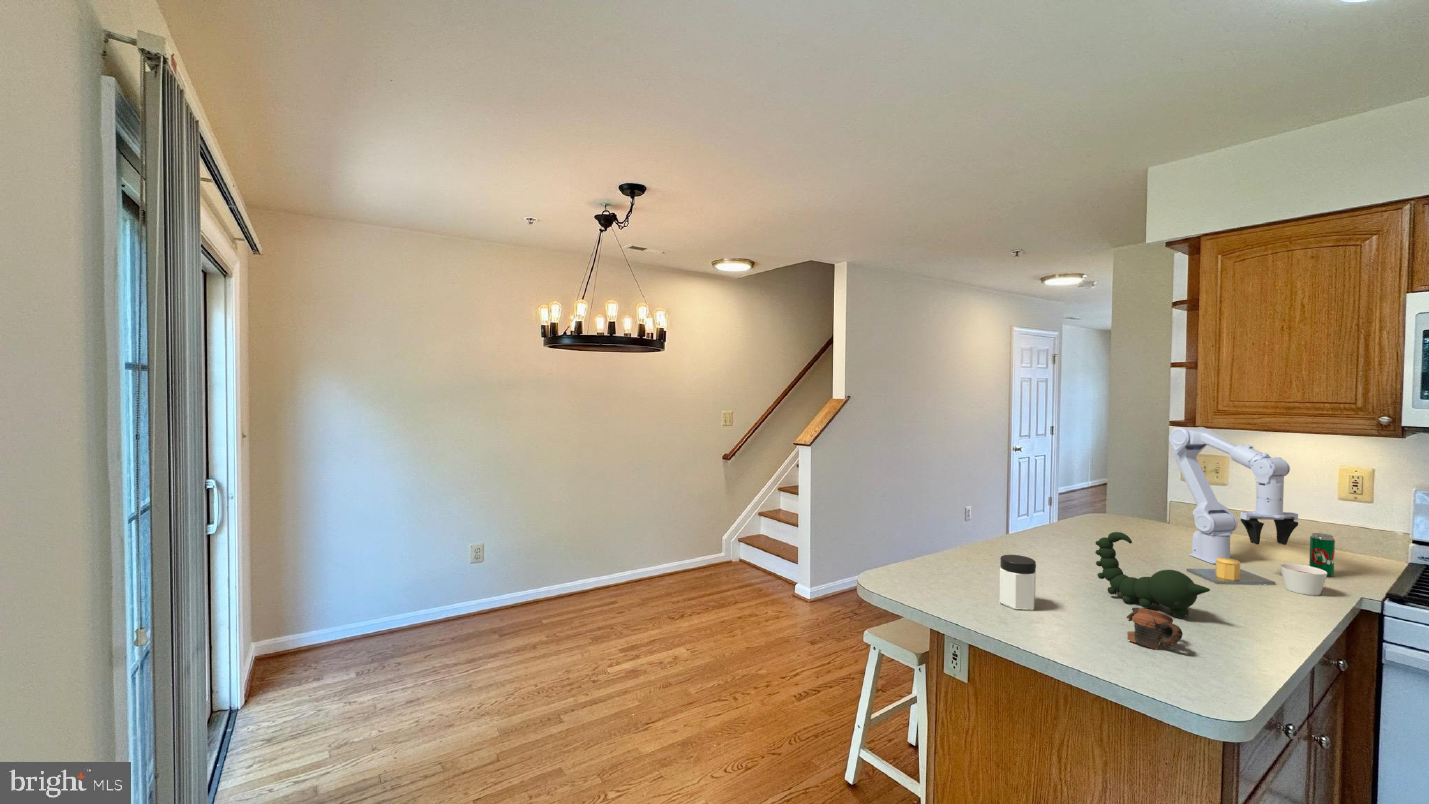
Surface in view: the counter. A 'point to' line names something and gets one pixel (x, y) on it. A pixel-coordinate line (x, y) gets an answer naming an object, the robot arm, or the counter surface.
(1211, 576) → the plate
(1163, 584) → the toy figurine
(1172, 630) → the pottery mug
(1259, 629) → the counter surface
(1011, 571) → the jar
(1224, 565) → the orange cap
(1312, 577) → the candle
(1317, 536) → the soda can
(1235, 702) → the counter surface
